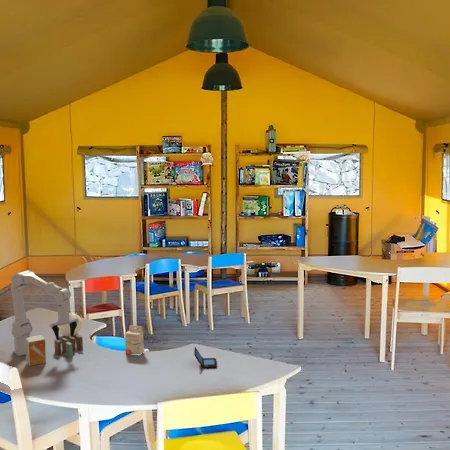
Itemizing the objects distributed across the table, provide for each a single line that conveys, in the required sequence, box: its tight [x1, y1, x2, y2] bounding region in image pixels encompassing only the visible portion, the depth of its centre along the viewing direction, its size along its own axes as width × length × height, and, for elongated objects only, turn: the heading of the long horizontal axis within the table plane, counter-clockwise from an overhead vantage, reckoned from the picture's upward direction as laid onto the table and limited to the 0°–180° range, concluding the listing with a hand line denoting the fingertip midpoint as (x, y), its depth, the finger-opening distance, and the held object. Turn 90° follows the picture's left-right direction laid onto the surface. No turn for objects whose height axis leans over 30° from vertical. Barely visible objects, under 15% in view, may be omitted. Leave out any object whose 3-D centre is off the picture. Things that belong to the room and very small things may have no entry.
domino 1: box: [53, 339, 62, 356], centre depth 299 cm, size 2×5×7 cm, turn 37°
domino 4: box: [65, 341, 74, 359], centre depth 295 cm, size 2×5×7 cm, turn 37°
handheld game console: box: [193, 346, 217, 369], centre depth 280 cm, size 12×11×7 cm
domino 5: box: [75, 334, 84, 351], centre depth 306 cm, size 2×5×7 cm, turn 37°
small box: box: [25, 334, 47, 367], centre depth 284 cm, size 8×6×13 cm
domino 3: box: [68, 336, 77, 353], centre depth 304 cm, size 2×5×7 cm, turn 37°
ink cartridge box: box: [124, 324, 145, 355], centre depth 296 cm, size 9×5×15 cm, turn 71°
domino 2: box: [61, 337, 69, 354], centre depth 302 cm, size 2×5×7 cm, turn 37°
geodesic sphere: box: [57, 311, 83, 338], centre depth 329 cm, size 15×14×14 cm
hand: (64, 338), depth 292 cm, fingers open, 7 cm apart
